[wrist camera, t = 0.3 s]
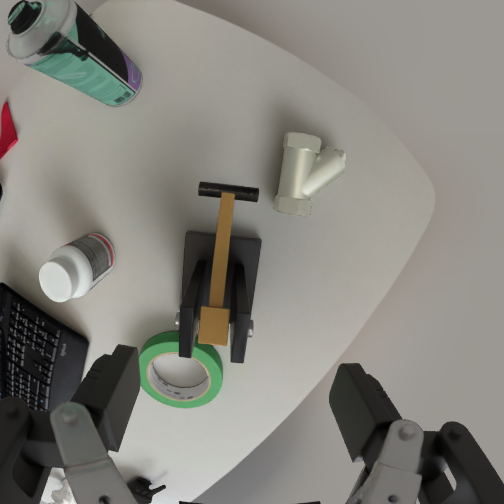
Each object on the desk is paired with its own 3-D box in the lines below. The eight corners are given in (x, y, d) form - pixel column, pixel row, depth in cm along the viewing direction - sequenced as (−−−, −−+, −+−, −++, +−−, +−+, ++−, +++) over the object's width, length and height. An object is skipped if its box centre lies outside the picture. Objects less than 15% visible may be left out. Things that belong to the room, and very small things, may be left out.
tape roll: (238, 355, 36) (238, 367, 33) (200, 406, 38) (199, 419, 35) (158, 315, 34) (153, 326, 31) (130, 373, 36) (125, 385, 33)
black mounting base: (187, 230, 31) (159, 265, 19) (260, 238, 32) (278, 278, 20) (182, 313, 34) (160, 381, 21) (248, 320, 35) (257, 391, 22)
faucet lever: (200, 187, 25) (199, 176, 23) (256, 193, 26) (260, 183, 24) (182, 337, 23) (178, 340, 21) (243, 343, 23) (245, 347, 21)
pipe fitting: (339, 147, 30) (281, 135, 29) (355, 145, 27) (292, 130, 26) (328, 216, 32) (271, 208, 31) (343, 222, 29) (279, 212, 28)
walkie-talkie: (108, 491, 42) (136, 474, 37) (129, 485, 47) (162, 465, 42) (121, 513, 39) (154, 501, 34) (142, 506, 44) (179, 490, 39)
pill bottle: (85, 224, 30) (39, 243, 21) (122, 244, 31) (84, 271, 22) (73, 263, 31) (29, 292, 22) (108, 283, 32) (71, 319, 23)
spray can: (151, 71, 26) (69, -26, 7) (127, 113, 28) (13, 55, 8) (114, 59, 26) (20, -23, 6) (91, 99, 27) (-26, 47, 7)
